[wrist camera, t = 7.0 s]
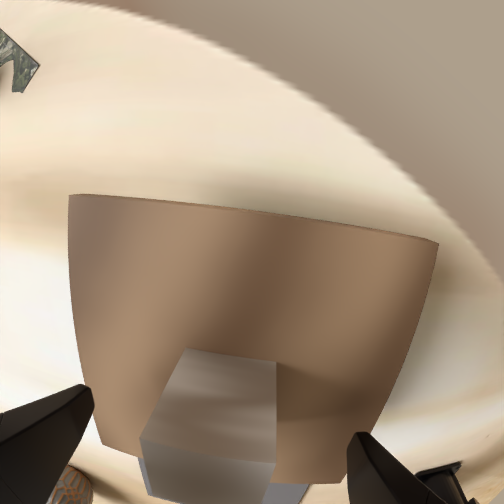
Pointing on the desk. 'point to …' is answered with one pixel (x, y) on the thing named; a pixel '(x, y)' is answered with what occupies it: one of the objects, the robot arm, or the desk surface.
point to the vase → (72, 488)
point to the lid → (238, 338)
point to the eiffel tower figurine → (16, 62)
